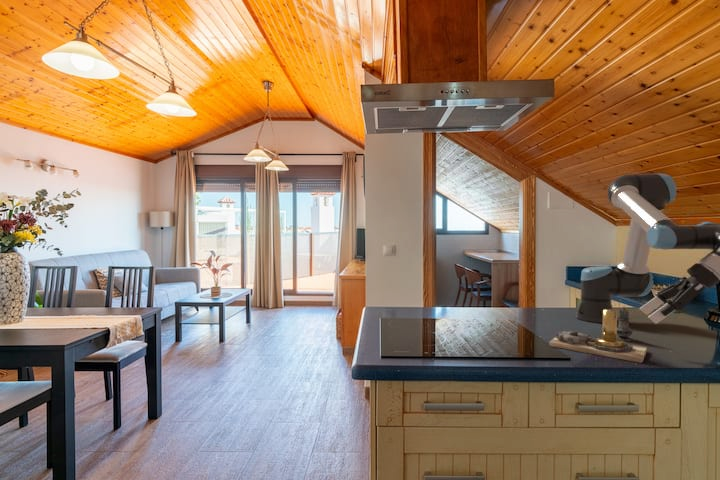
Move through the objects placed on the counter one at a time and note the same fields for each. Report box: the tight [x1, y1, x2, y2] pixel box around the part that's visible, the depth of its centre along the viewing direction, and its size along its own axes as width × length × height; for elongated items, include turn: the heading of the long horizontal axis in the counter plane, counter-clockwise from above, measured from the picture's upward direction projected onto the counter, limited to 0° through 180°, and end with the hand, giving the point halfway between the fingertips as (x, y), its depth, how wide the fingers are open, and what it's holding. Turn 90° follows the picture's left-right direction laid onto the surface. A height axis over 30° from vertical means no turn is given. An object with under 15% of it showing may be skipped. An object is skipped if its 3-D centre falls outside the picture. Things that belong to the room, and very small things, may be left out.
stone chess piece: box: [617, 306, 634, 342], centre depth 143 cm, size 6×6×12 cm
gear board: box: [548, 330, 648, 364], centre depth 131 cm, size 14×26×4 cm, turn 49°
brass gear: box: [593, 309, 626, 348], centre depth 129 cm, size 9×9×12 cm
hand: (647, 316), depth 124 cm, fingers open, 13 cm apart
